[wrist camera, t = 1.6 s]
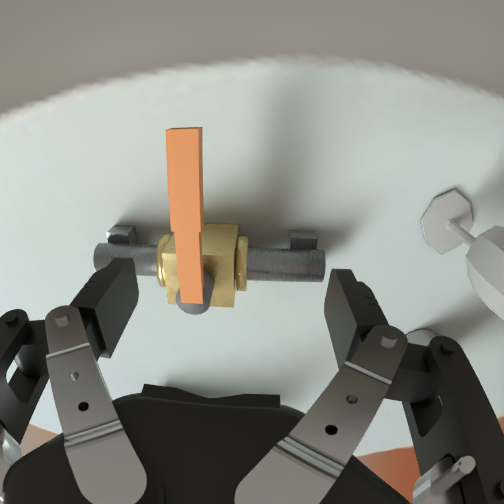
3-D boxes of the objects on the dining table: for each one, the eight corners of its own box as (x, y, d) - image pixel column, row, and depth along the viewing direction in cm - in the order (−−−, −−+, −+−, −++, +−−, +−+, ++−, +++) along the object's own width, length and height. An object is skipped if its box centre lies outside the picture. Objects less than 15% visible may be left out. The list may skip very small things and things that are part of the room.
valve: (318, 227, 37) (333, 259, 29) (313, 271, 39) (324, 309, 32) (109, 222, 37) (80, 250, 29) (116, 263, 39) (91, 297, 32)
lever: (214, 297, 31) (210, 319, 28) (183, 295, 31) (176, 317, 28) (211, 125, 24) (203, 128, 21) (173, 126, 24) (160, 130, 21)
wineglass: (454, 176, 33) (571, 249, 14) (477, 222, 35) (574, 305, 17) (408, 219, 36) (507, 321, 17) (436, 261, 38) (518, 364, 20)
